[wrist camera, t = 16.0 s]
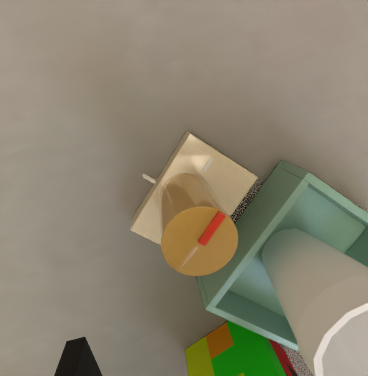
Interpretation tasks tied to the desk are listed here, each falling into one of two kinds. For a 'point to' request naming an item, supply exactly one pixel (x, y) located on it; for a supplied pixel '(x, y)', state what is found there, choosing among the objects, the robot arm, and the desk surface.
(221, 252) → the tap handle
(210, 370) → the puzzle toy
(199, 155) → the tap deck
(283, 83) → the desk surface
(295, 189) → the basin
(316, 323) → the foam cup
